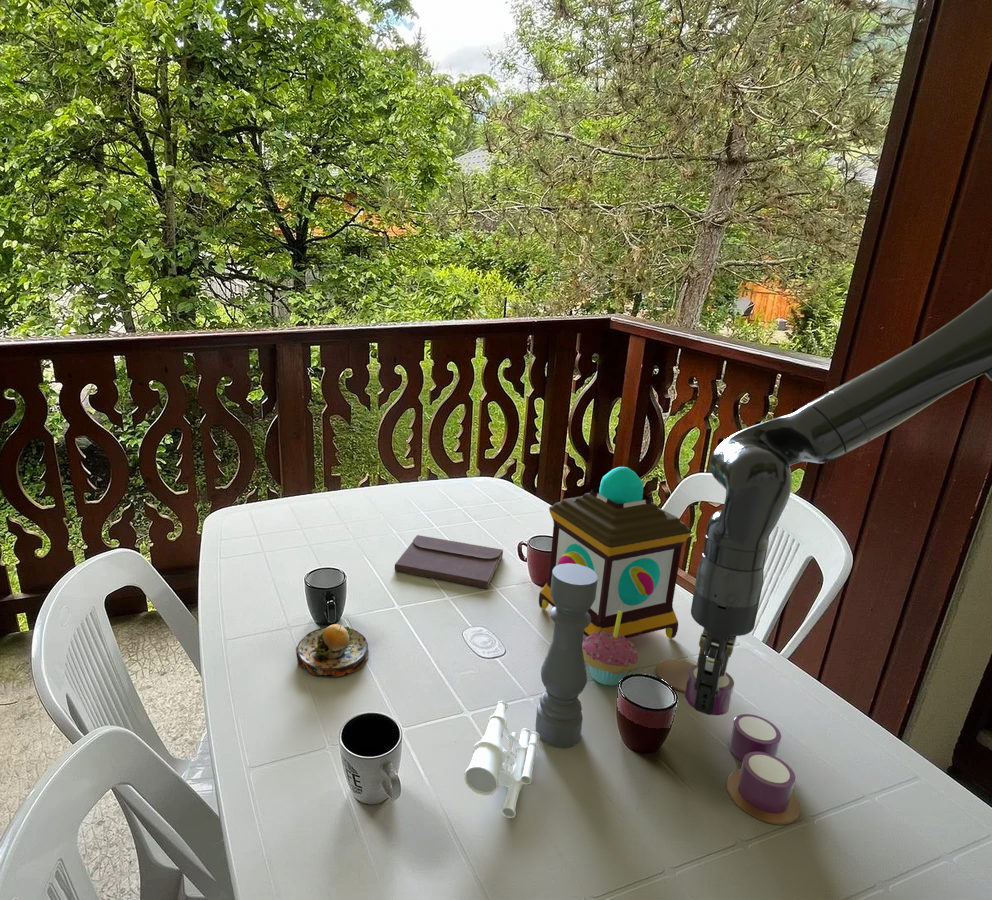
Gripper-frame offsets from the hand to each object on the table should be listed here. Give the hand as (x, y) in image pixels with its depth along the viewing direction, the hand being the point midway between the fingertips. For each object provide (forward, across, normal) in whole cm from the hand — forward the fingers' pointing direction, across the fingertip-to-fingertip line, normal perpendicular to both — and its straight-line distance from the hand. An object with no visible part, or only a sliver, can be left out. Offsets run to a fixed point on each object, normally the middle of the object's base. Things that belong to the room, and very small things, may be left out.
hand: (707, 698), depth 87 cm
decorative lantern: (+6, -20, -20) cm, 29 cm away
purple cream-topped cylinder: (+1, 0, 0) cm, 1 cm away
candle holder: (+6, +11, -17) cm, 21 cm away
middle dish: (+6, 0, +6) cm, 9 cm away
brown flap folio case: (+6, -23, -54) cm, 59 cm away
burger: (+6, +16, -54) cm, 56 cm away
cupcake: (+6, -5, -15) cm, 17 cm away
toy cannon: (+6, +22, -20) cm, 30 cm away
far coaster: (+6, -12, -5) cm, 14 cm away
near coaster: (+6, +7, +8) cm, 13 cm away
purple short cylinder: (+6, +7, +8) cm, 12 cm away
